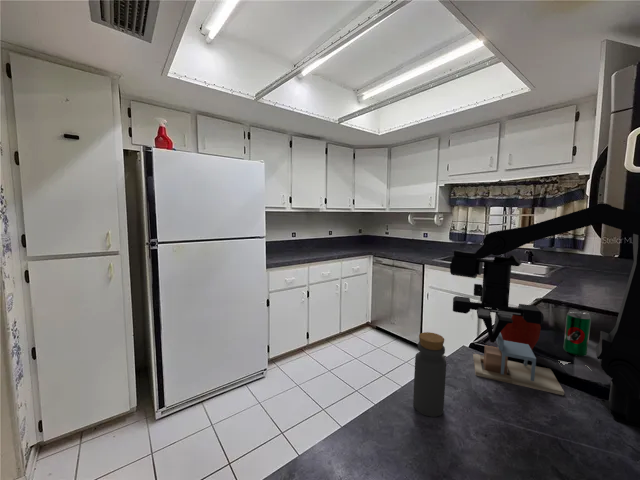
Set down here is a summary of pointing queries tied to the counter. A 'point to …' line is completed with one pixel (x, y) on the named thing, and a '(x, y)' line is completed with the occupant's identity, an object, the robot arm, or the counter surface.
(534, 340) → the apple
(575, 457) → the counter surface
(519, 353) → the light blue toy chair
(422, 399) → the bottle
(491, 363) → the block
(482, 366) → the board
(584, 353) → the soda can
